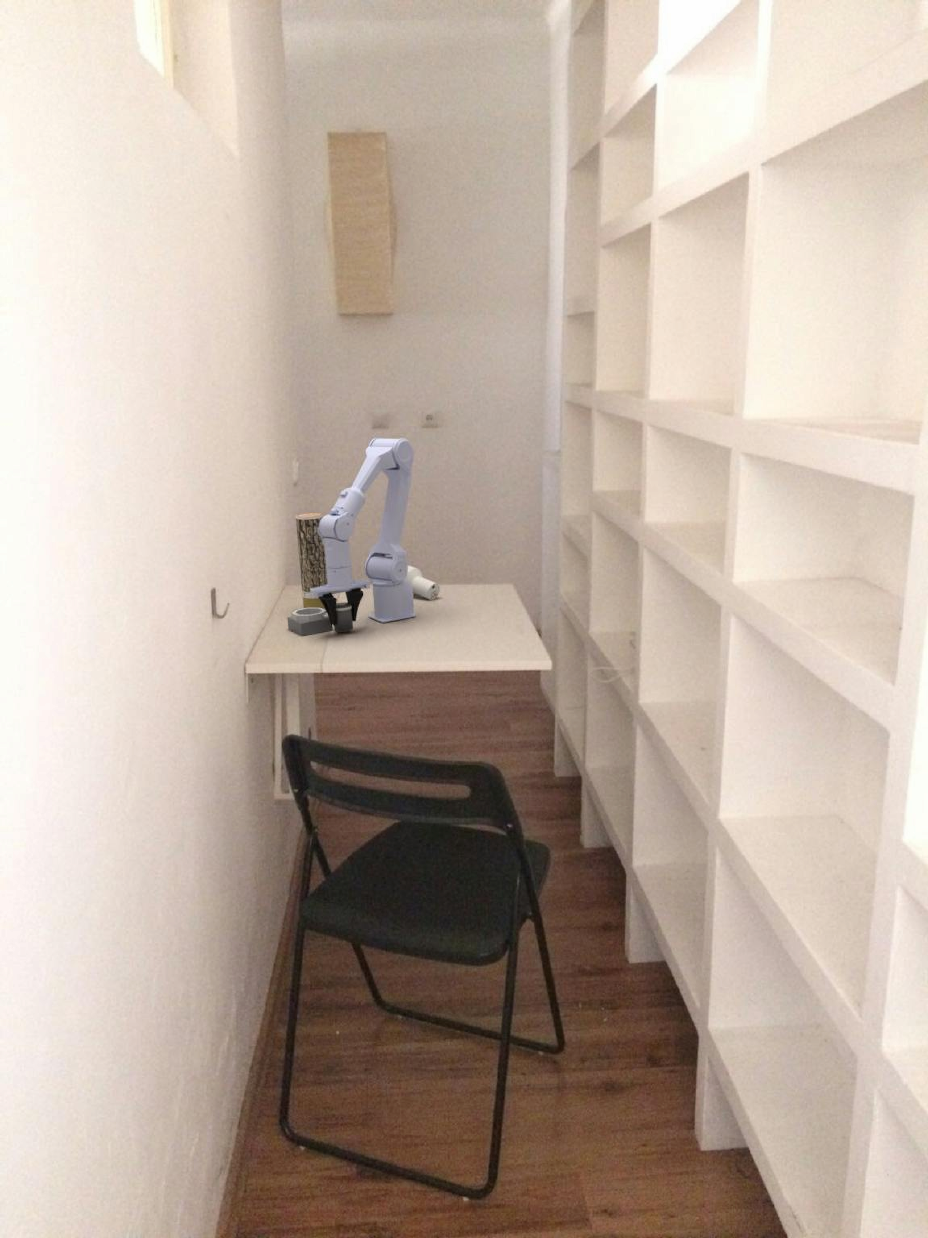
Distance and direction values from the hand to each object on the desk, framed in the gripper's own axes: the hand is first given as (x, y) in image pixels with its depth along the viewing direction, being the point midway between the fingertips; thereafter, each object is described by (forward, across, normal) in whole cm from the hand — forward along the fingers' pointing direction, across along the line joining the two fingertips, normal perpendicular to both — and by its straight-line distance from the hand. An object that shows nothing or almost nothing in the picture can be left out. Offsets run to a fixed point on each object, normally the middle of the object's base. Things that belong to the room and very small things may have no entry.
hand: (343, 622), depth 229 cm
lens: (+2, 0, 0) cm, 2 cm away
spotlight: (+3, -32, -20) cm, 37 cm away
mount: (+2, +5, -8) cm, 10 cm away
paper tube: (+3, -4, -24) cm, 24 cm away
